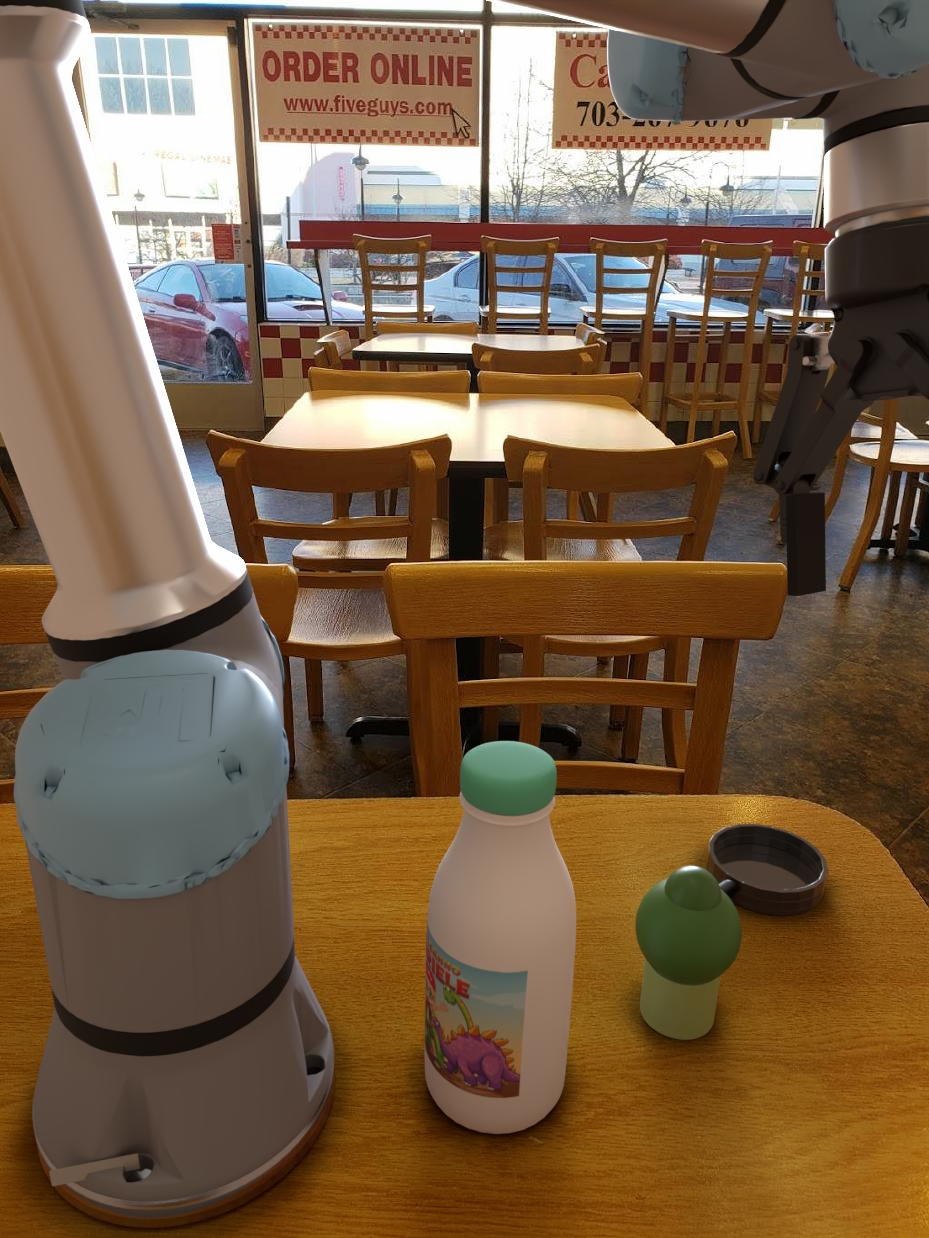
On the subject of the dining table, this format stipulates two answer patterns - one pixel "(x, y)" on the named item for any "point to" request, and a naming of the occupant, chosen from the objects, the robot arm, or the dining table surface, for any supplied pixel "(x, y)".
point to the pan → (768, 868)
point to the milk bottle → (500, 948)
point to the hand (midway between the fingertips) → (896, 604)
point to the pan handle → (729, 887)
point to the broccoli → (685, 951)
